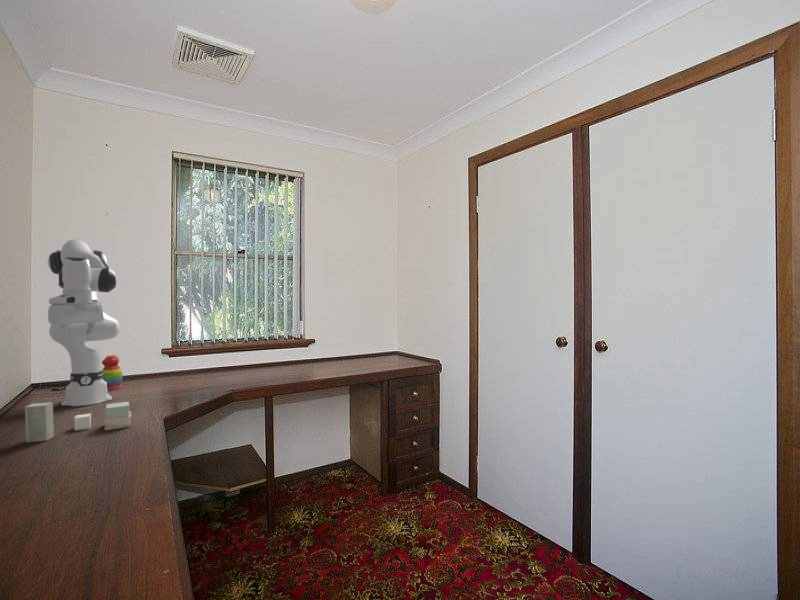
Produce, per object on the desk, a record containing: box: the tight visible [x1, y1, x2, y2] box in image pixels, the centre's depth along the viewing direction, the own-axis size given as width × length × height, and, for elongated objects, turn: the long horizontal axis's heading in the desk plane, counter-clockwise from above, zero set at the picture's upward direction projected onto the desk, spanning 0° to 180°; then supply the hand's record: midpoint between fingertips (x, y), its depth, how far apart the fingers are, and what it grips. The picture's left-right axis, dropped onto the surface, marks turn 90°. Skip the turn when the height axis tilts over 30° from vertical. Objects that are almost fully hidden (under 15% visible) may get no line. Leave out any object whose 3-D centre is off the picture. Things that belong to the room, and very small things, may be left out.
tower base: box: [104, 410, 132, 431], centre depth 157 cm, size 8×8×4 cm
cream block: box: [73, 413, 92, 431], centre depth 154 cm, size 4×4×4 cm
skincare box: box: [24, 401, 55, 443], centre depth 142 cm, size 6×4×12 cm
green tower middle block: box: [105, 401, 130, 419], centre depth 157 cm, size 7×7×4 cm
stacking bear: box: [101, 354, 124, 392], centre depth 219 cm, size 11×10×18 cm
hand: (78, 335), depth 159 cm, fingers open, 8 cm apart
